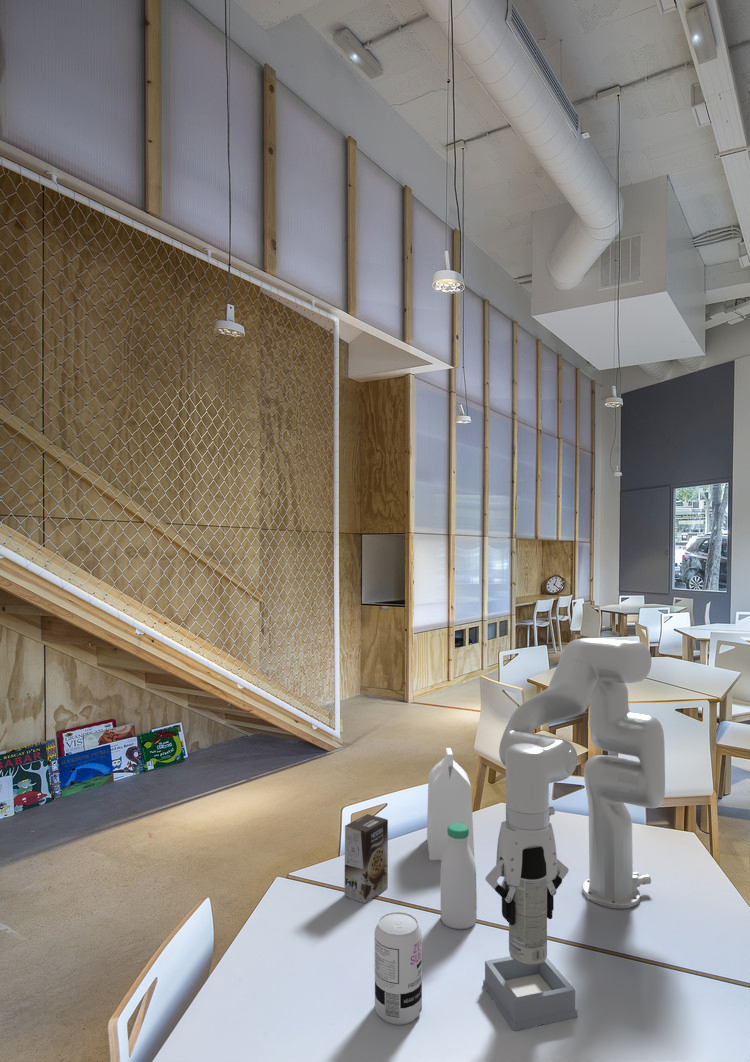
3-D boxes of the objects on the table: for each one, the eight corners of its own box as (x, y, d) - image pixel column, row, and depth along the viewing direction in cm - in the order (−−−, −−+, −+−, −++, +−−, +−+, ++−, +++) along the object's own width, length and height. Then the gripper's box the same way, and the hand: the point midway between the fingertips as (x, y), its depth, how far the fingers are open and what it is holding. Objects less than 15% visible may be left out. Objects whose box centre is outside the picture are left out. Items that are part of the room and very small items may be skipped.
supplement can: (372, 996, 119) (372, 911, 119) (418, 993, 120) (418, 909, 120) (376, 1028, 111) (376, 937, 111) (425, 1025, 112) (425, 935, 112)
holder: (541, 973, 125) (541, 949, 125) (577, 1017, 114) (577, 990, 114) (483, 985, 122) (483, 960, 122) (514, 1031, 110) (513, 1003, 110)
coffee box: (365, 904, 150) (365, 832, 150) (343, 895, 153) (343, 825, 154) (389, 888, 157) (389, 819, 157) (367, 879, 161) (367, 812, 161)
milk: (474, 860, 171) (473, 758, 171) (429, 859, 171) (429, 758, 172) (468, 839, 183) (467, 744, 183) (426, 839, 183) (426, 744, 184)
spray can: (548, 948, 120) (548, 836, 120) (545, 970, 113) (545, 852, 114) (511, 941, 122) (511, 831, 123) (506, 962, 116) (505, 846, 116)
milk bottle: (475, 932, 139) (475, 835, 139) (438, 928, 140) (438, 832, 141) (477, 912, 146) (476, 820, 147) (442, 908, 148) (442, 818, 148)
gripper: (558, 803, 124) (559, 900, 124) (473, 813, 120) (474, 914, 119) (581, 819, 117) (582, 922, 117) (492, 830, 113) (492, 937, 112)
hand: (527, 917), depth 118 cm, fingers closed on spray can, 6 cm apart
